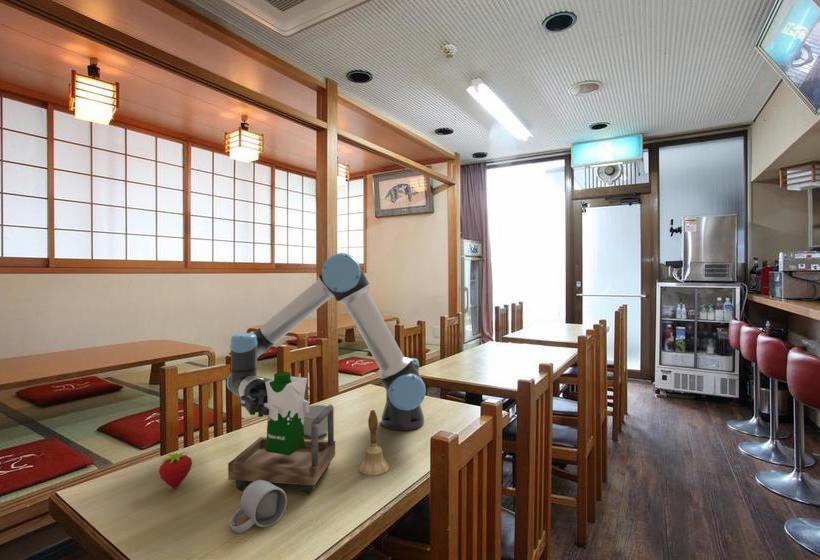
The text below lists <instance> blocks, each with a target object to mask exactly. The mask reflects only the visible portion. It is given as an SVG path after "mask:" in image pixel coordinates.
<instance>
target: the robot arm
mask: <svg viewBox="0 0 820 560" xmlns="http://www.w3.org/2000/svg"><path fill="white" fill-rule="evenodd" d="M370 286H371V284H370V282H369V281H368V279H367V277H366V275H365V274H364V270H362V268H361V265H360V263H359V262H358V260H357V259H356V258H355V257H354V256H353V255H351V254H348V253H344V252H339V253H336V254H332V255H331V256H329V257H328V258H327V259H326V261H325V262H324V263H323V265H322V269H321V273H320V274H318V275H317V280H315V282H314V283H312V284H311V285H309V287H307V288H306V289H305V290H303V292H301V293H300V294H299V295H297V297H295V298H294V299H293V300H292V301H290V302H289V303H288V304H286V306H284V307H283V308H282V309H281V310H279V311H278V312H277V313H276V314H274V315H273V316H272V317H271V318H269V319H268V320H266V322H265V323H264V324H262V325H260V327H259V328H258V329H256V330H255V331H254V332H253V333H250V332H242V333H236V334H233V335H231V338H230V374H229V375H228V377H227V379H226V387H227V389H228V390H229V391H230V392H231V393H232V394H233V395H234V396H236V397H238V398H240V406H241V407H243V408H245V410H246V411H247V412H248V414H249V415H250V416H255V415H256V414H257V413H258V414H257V415H258V416H257V417H259V418H262V417H264V416H266V417H267V416H268V417H269V418H271V419H273V420H274V421H277V420H278V409H277V408H275V407H273V406H271V405H269V404H268V395H267V389H266V382H267V381H268V380H266V379H264V378H262V377H259V376H258V358H259V357H260V356H261V355H263V354H265V353H267V351H269V350H270V348H271V347H273V346H274V345H275V344H276V343H277V342H279V341H280V340H281V339H282V338H283V337H285V336H286V335H287V334H288V333H289V332H291V331H292V330H293V329H295V328H296V327H297V326H298V325H300V323H302V322H303V321H304V320H305V319H306V318H308V317H309V316H310V315H312V314H313V313H314V312H315V311H316V310H318V309H319V308H320V307H321V306H322V305H324V304H325V303H327V302H328V301H329V300H331V298H334V299H335V301H336V302H337V303H338V304H341V305H343V306H344V307H345V308H346V311H347V312H348V313H349V315H350V317H351V319H352V321H353V323H354V325H355V326H356V328H357V330H358V332H359V334H360V336H361V337H362V339H363V341H364V343H365V344H366V346H367V348H368V350H369V352H370V353H371V355H372V357H373V360H374V361H375V363H376V364H377V366H378V368H379V370H380V371H379V375H378V378H379V379H380V382H381V383H382V385H383V386H384V388H385V390H386V393H385V395H386V397H385V398H386V401H385V405H384V408H383V410H382V411H383V412H382V415H381V426H383V427H384V428H386V429H389V430H391V431H392V430H394V431H401V432H402V431H405V432H406V431H411V430H417V429H419V428H421V427H423V425H424V424H425V417H424V416H425V415H424V412H423V409H422V406H421V404H422V403H423V402H424V400H425V398H426V397H425V396H426V392H427V391H426V390H427V389H426V384H425V381H424V380H423V379H422V376H421V375H420V369H419V368H420V361H419V359H417V358H414V357H407V356H404V354H403V353H402V351H401V349H400V347H399V345H398V343H397V341H396V340H395V338H394V336H393V334H392V332H391V330H390V329H389V326H388V325H387V323H386V321H385V319H384V318H383V316H382V314H381V312H380V311H379V309H378V307H377V305H376V303H375V301H374V300H373V297H372V296H371V294H370V292H369V290H370ZM309 406H310V401H309V400H307V399H306V394H305V395H304V412H306V413H308V412H309Z"/></svg>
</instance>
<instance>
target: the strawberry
mask: <svg viewBox="0 0 820 560" xmlns="http://www.w3.org/2000/svg"><path fill="white" fill-rule="evenodd" d="M176 451H177V449H175V450H174V451H173V453H175V452H176ZM185 452H186V451H184V452H181V453H177V452H176V453H175V454H168V457H166V458H164V459H163V460H162V463H161V465H160V466H159V470H158V474H159V476H160V479H161V480H162V481H163V482H164V483H165V484H166V485H168V486H169V487H170V488H172V489H177V488H179V487H180V485H181V484H182V482H183V481H185V479H186V477H187V476H188V474H189V473H190V471H191V469H192V464H193V461H192V458H191V457H190V456H188V455H187V454H184V453H185Z"/></svg>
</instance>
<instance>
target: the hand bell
mask: <svg viewBox="0 0 820 560" xmlns="http://www.w3.org/2000/svg"><path fill="white" fill-rule="evenodd" d="M367 421H368V429H369V432H370V446H368V447H366V449H365V454H364V459H363V461H362V462H361V464H360V465H359V467H358V470H359V472H360V473H361V474H362V475H364V476H370V477H371V476H372V477H373V476H381V475H384V474H386V473H387V472H388V471H389V470H390V465H389V463H388V462H387V461H386V460H385V458H384V455H383V449H382V447H381V446H379V445H378V442H377V431H378V426H379V422H378V421H379V420H378V416H377V412H376V410H375V409H372V410H370V413H369V416H368V420H367Z"/></svg>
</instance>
